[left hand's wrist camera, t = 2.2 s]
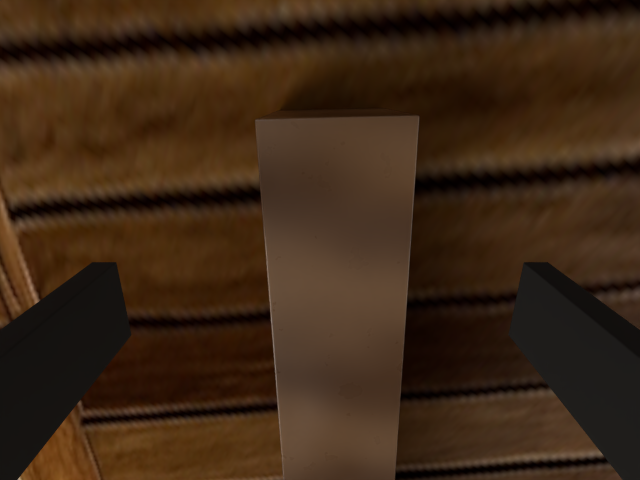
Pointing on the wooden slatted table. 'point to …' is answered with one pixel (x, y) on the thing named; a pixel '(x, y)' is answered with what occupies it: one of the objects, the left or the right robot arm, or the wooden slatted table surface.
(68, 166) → the wooden slatted table surface
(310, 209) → the bar
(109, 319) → the left robot arm
